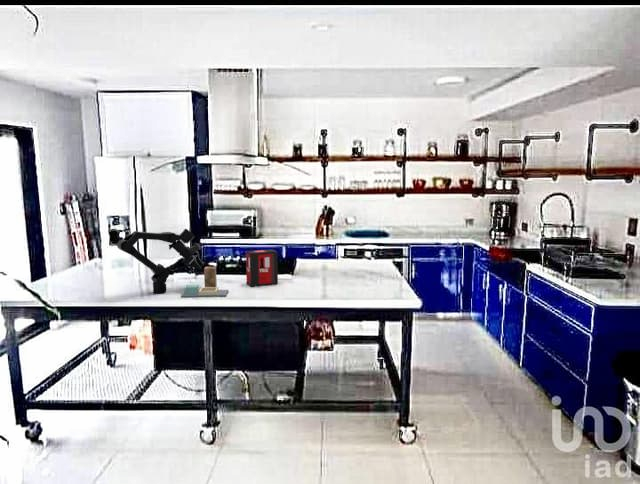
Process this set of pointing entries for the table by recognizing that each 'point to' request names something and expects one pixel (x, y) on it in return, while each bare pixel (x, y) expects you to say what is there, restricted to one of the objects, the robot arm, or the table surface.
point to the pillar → (210, 277)
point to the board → (203, 292)
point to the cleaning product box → (261, 268)
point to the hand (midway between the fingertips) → (202, 268)
